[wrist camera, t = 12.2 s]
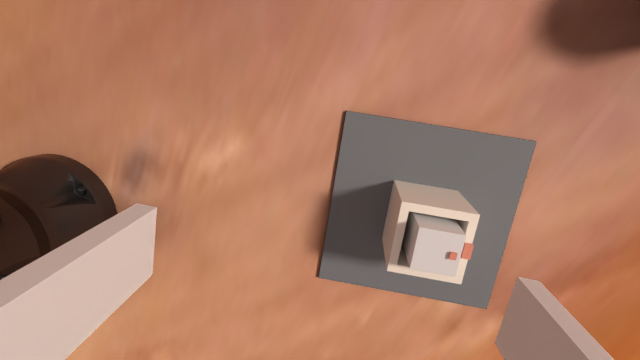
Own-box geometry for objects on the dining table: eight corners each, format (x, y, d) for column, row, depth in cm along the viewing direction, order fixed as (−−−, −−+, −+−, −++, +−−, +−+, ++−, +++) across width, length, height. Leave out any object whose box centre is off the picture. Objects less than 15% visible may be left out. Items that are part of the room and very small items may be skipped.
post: (319, 276, 46) (307, 331, 36) (346, 110, 41) (342, 119, 31) (485, 307, 45) (523, 373, 35) (534, 141, 40) (596, 160, 30)
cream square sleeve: (381, 238, 44) (387, 273, 36) (394, 179, 42) (402, 203, 34) (443, 248, 44) (462, 287, 35) (457, 190, 42) (481, 216, 34)
